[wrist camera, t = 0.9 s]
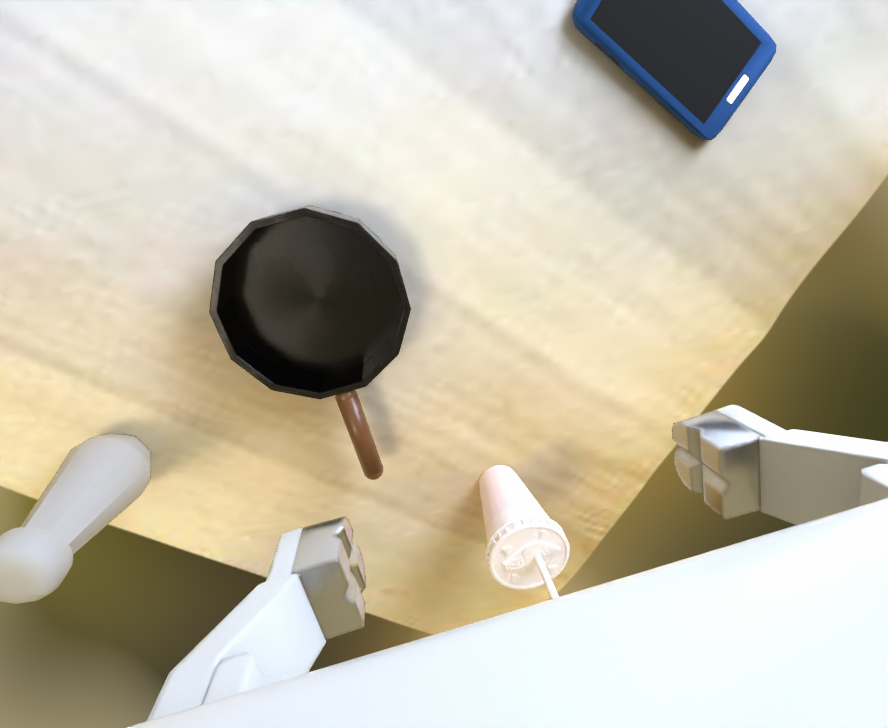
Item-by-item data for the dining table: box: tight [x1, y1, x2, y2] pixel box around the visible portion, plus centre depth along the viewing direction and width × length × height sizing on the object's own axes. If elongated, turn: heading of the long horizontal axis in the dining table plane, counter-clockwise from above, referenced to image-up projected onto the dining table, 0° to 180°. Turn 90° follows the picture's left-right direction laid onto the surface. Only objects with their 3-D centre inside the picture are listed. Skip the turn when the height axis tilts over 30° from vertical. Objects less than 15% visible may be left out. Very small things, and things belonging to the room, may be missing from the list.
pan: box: [209, 206, 411, 480], centre depth 35 cm, size 21×13×4 cm, turn 14°
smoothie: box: [479, 465, 570, 599], centre depth 38 cm, size 6×6×14 cm
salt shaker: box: [0, 434, 151, 603], centre depth 32 cm, size 6×6×13 cm
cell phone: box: [572, 0, 776, 140], centre depth 32 cm, size 7×14×1 cm, turn 58°
